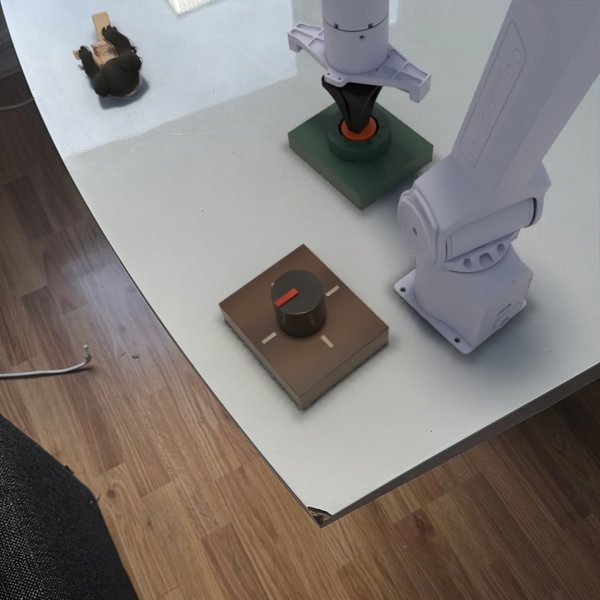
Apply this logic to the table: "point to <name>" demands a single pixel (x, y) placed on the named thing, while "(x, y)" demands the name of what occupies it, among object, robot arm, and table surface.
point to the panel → (313, 348)
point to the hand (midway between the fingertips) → (358, 126)
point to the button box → (361, 153)
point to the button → (363, 136)
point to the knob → (299, 302)
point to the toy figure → (111, 61)
